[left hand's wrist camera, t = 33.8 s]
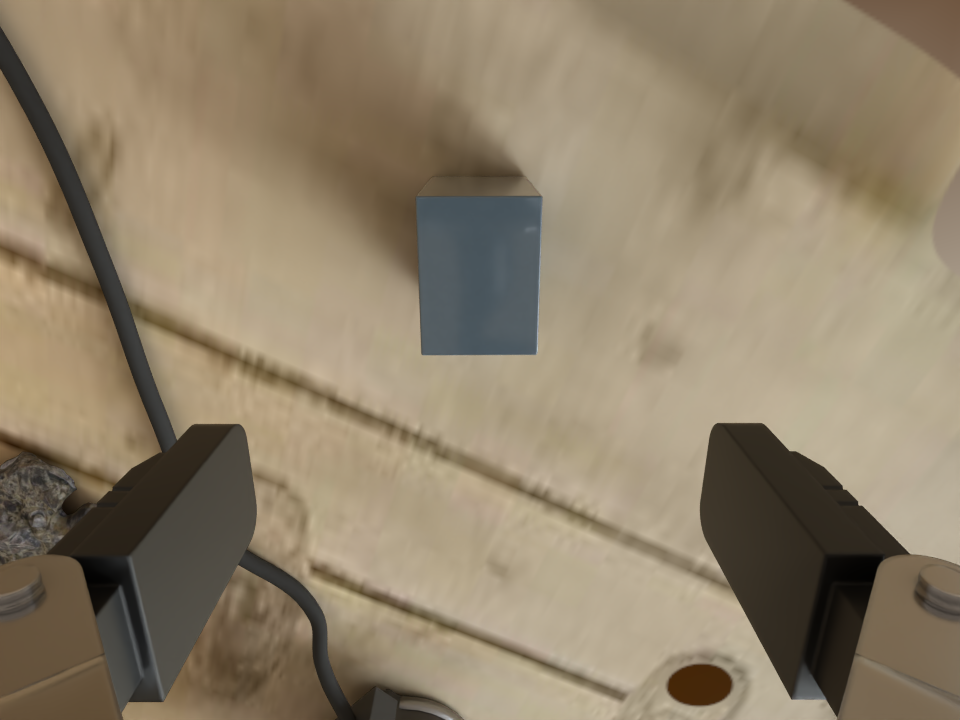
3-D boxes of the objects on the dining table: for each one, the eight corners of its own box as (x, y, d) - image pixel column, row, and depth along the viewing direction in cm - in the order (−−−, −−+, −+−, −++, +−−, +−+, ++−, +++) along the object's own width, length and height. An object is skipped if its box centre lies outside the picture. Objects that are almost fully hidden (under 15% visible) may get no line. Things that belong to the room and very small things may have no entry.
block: (434, 300, 34) (421, 356, 26) (431, 176, 31) (415, 196, 23) (523, 299, 34) (537, 355, 26) (526, 176, 31) (542, 195, 23)
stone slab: (-151, 529, 39) (-201, 562, 36) (69, 424, 36) (35, 450, 33) (-11, 669, 43) (-46, 708, 40) (197, 583, 40) (175, 619, 37)
